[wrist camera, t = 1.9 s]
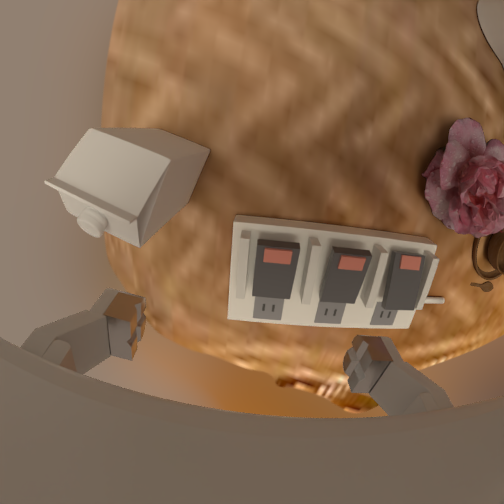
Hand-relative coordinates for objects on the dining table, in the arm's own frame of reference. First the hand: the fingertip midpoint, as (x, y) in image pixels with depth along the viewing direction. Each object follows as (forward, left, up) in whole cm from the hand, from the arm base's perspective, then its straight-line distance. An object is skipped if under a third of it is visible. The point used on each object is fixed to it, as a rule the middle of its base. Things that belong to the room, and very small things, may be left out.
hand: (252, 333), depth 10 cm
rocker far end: (-2, +7, -21) cm, 22 cm away
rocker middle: (-10, +7, -21) cm, 25 cm away
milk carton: (+11, -3, -25) cm, 28 cm away
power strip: (-14, +9, -25) cm, 30 cm away
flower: (-26, -7, -26) cm, 37 cm away
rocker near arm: (-18, +7, -21) cm, 29 cm away
